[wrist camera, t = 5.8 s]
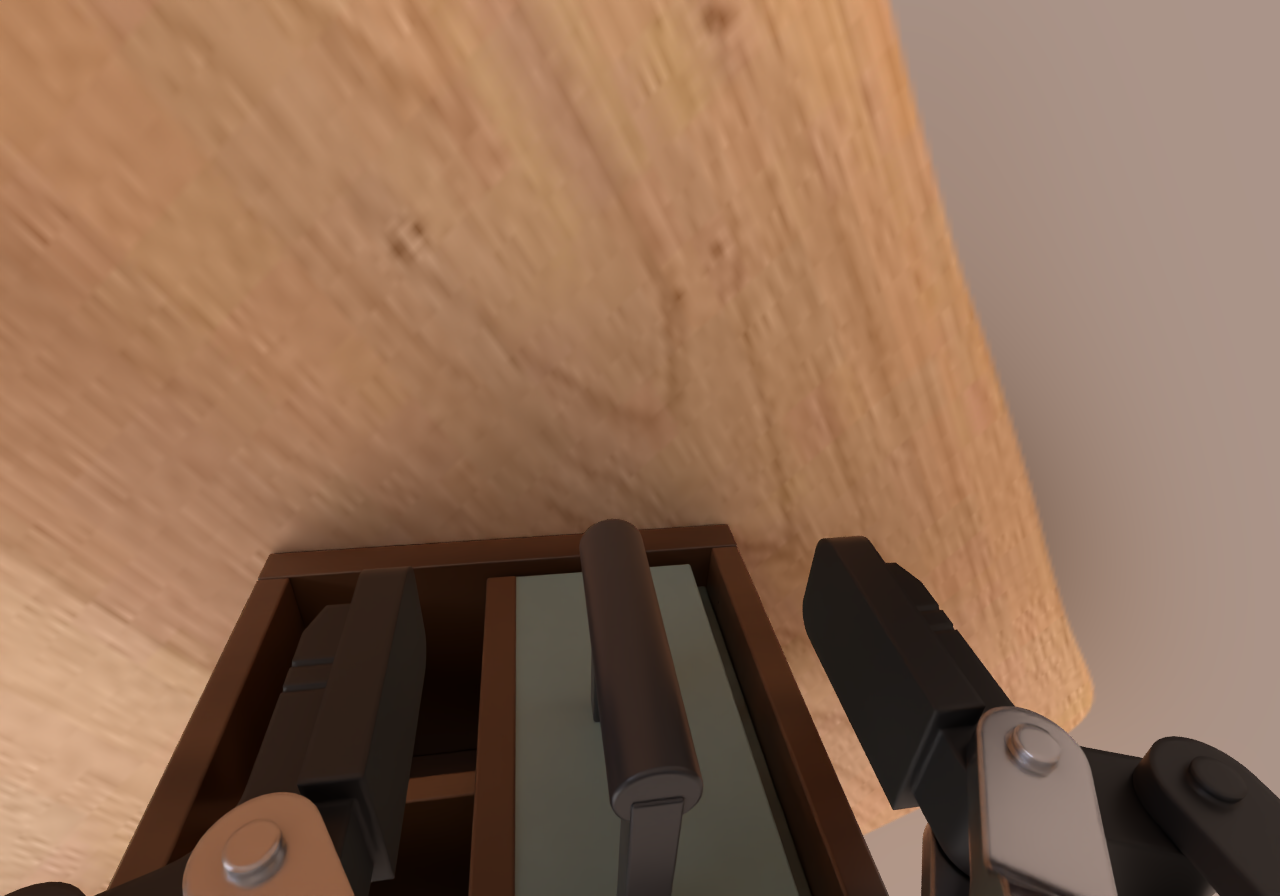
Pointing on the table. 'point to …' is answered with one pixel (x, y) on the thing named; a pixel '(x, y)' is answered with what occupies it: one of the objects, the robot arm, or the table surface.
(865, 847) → the cabinet
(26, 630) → the table surface
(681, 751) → the sliding cabinet door
